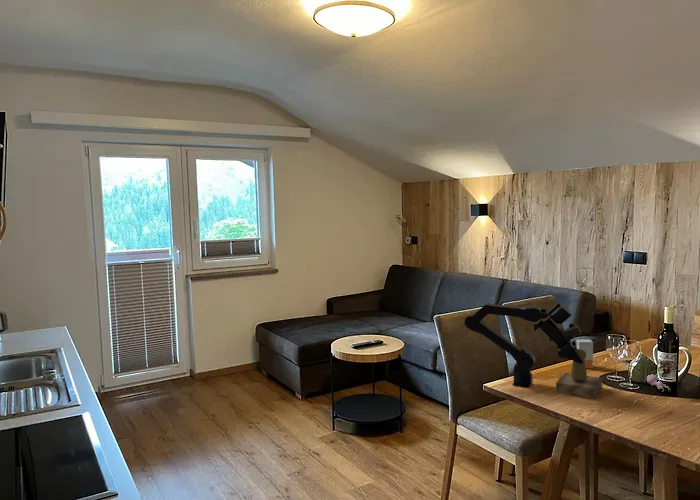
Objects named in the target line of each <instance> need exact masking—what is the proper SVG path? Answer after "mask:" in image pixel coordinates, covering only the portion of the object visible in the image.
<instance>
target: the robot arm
mask: <svg viewBox="0 0 700 500" xmlns="http://www.w3.org/2000/svg"><path fill="white" fill-rule="evenodd" d="M488 315H495V316H505V317H514V318H515V317H516V318H520V319H521V320H522V319H523V320H525V321H528V322H532V323H533V331H534V332H536V331H537V330H538V329H539V330H540V331H541V332H542V333H543V334H544V335H545V336H546V337H548V340H549V341H550V342H552V343H553V344H554V345H555V346H556V348H557V356H558V357H560V359H563V358H565V359H569V360H570V361H572V362H573V361H575V362H578V363H580V364H583V363H584V362H583V361H582V359H581V358H580V357H579V355H578V354H577V353H576V351H575V349H577V339H575V338H576V337H579V336H581V335H582V331H581V329H580V326H579V325H578V324H575V323H574V322H573V323H569V324H568V327H567V328H566V329H565V328H563V327H559V326H558V325H559V324H560V325H562V324H564V322H566V321H567V320H568V319H570V318H571V317H573V314H572V312H571V310H569V308H568V307H567V306H564V304H561V303H560V302H557V303H556V304H555V306H553V307H552V308H551V309H546V308H541V307H540V305H537V304H536V305H535V304H534V305H523V306H515V305H504V304H502V305H501V304H495V303H494V304H492V303H490V302H486V303H485V304H484V305H483V306H482V307H481V308H480V309H478V310H477V311H475V312H472V313H469V314H468V315H467V317H465V319H464V321H463V322H464V327H465V328H467V329H468V330H469V331H472V332H474V333H477V334H481V335H482V336H484V337H485V338H487V339H488V340H490V341H491V342H492V343H494V344H495V345H497V347H499V348H501V349H502V350H504V351H505V352H506V353H508V354H509V355H510V356H511V357H512V358H513V359H514V361H515V363H514V366H513V383H512V385H511V386H516V387H521V388H522V387H523V388H527V389H528V388H529V387H531V386H532V385H533V373H532V370H531V369H532V368H533V366H534V365H535V362H536V356H535V353H533V350H532V349H530V348H528V347H527V346H526V345H522V347H521V346H518V345H516V344H515V343H513V342H512V341H510V340H509V339H508V338H506V337H505V336H503V335H502V334H501V333H499V332H497V330H495V329H494V328H493V327H490V326H489V325H488V324H487V322H486V321H485V320H484V319H485V317H487V316H488Z"/></svg>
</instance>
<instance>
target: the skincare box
mask: <svg viewBox="0 0 700 500" xmlns="http://www.w3.org/2000/svg"><path fill="white" fill-rule="evenodd" d="M576 347H577V349H580V350H584V351H585V352H586V358H585V366H586V369H593V368H594V356H593V355H594V342H593V341H592V340H591V339H576Z"/></svg>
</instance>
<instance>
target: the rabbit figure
mask: <svg viewBox="0 0 700 500" xmlns="http://www.w3.org/2000/svg"><path fill="white" fill-rule="evenodd" d="M653 374H654V373H653ZM653 374H651V375H648V376H647V378H646V382H647V383H648V384H650V385H651V386H655V387H657V389H658V390H659V389H663V390H662V391H661V392H664V391H665V390H664V388H663V387H665V388H668V391H669V390H670V391H671V388H670V387H669V386H668V385H667V386H666V384H663V383H664V382H663V381H662V380H661V381H662V382H663V383H662V382H661V381H660V380H659V378H658V374H659V373H656V374H654V375H653ZM657 380H659V383H658V382H657Z"/></svg>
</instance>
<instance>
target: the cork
mask: <svg viewBox="0 0 700 500" xmlns="http://www.w3.org/2000/svg"><path fill="white" fill-rule="evenodd" d="M575 351H576V353H577V354H578V355H579V357H580V358H581V359H582V361H583V362H584V363H583V364H580V363H578V362H575V361H573V360H572V364H571V370H570V373H571V378H573V379H577V380H585V379H587V376H588V374H587V368H586V366H585V358H586V352H585V351H584V350H580V349H575Z"/></svg>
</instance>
